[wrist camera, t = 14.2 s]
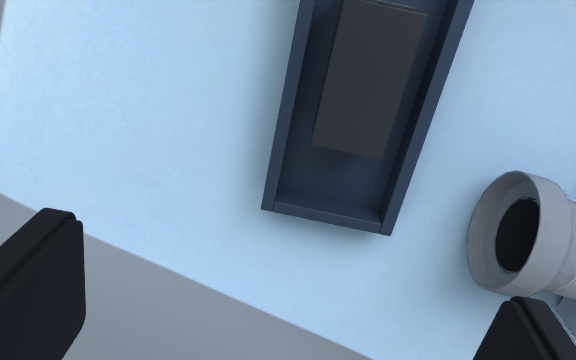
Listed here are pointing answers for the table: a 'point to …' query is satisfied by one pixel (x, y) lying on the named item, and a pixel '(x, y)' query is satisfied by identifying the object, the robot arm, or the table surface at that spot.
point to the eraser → (365, 75)
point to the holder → (346, 166)
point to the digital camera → (525, 241)
